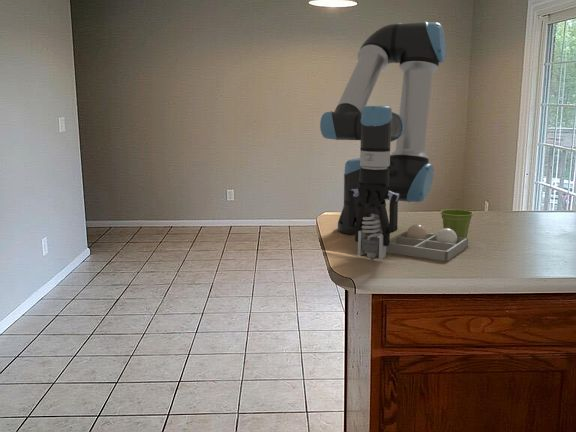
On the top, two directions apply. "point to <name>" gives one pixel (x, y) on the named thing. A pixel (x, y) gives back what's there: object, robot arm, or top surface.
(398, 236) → the carton
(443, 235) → the white egg
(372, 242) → the light bulb
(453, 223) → the plant pot
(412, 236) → the brown egg
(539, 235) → the top surface
